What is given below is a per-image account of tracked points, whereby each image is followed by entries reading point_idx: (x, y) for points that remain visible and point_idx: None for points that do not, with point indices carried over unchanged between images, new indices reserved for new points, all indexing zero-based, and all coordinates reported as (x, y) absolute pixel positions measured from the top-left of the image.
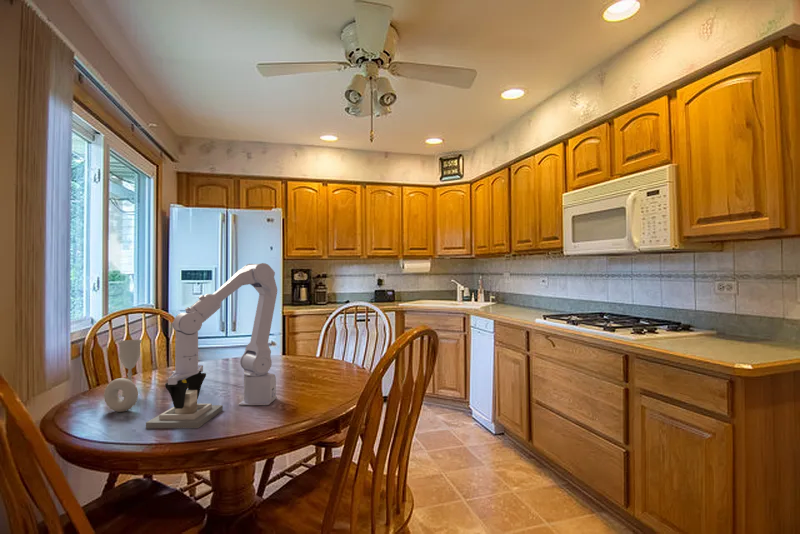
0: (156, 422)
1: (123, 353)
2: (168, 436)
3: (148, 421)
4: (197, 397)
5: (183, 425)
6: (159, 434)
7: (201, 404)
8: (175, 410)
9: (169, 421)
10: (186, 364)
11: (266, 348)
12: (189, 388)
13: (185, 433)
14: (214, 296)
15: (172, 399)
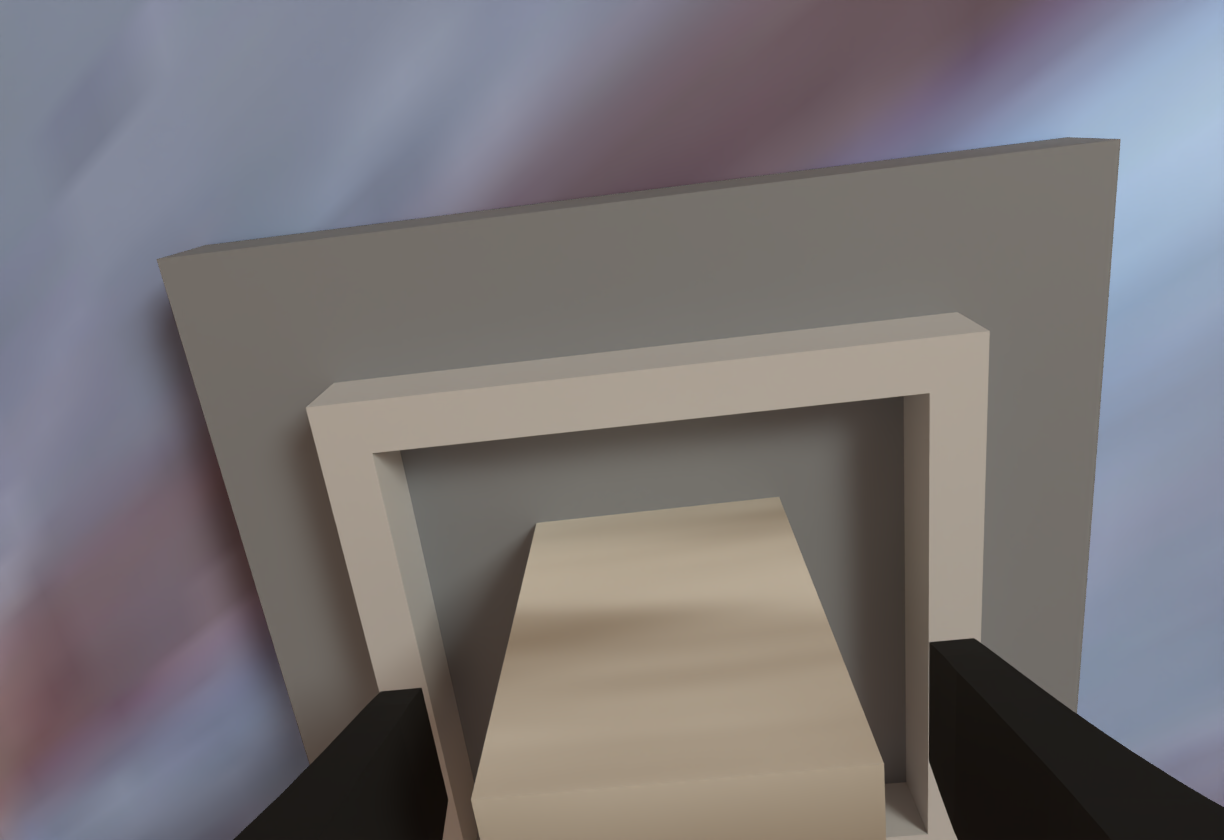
0: (211, 435)
1: None
2: (86, 723)
3: (211, 266)
4: (953, 803)
5: None
6: (96, 588)
7: (928, 749)
8: (528, 569)
9: (302, 593)
10: None
11: None
12: (1055, 819)
13: (217, 836)
14: None
15: (259, 825)
